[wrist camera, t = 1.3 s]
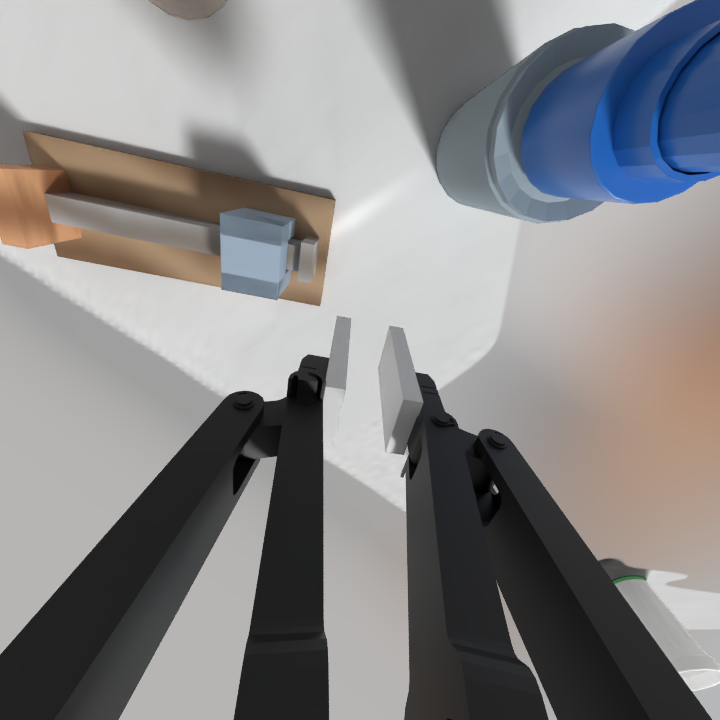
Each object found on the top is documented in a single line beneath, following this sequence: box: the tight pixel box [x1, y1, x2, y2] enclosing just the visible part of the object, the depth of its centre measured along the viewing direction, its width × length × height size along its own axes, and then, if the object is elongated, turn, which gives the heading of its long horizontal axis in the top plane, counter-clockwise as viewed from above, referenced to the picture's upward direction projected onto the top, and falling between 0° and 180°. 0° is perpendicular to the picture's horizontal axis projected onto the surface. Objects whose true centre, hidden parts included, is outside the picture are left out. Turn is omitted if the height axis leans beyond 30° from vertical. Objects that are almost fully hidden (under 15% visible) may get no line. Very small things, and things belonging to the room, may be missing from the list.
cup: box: [613, 576, 720, 691], centre depth 62 cm, size 12×12×15 cm
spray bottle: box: [436, 0, 720, 223], centre depth 18 cm, size 9×9×25 cm
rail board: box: [0, 131, 335, 306], centre depth 29 cm, size 11×28×7 cm, turn 79°
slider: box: [220, 207, 296, 300], centre depth 29 cm, size 6×5×6 cm
